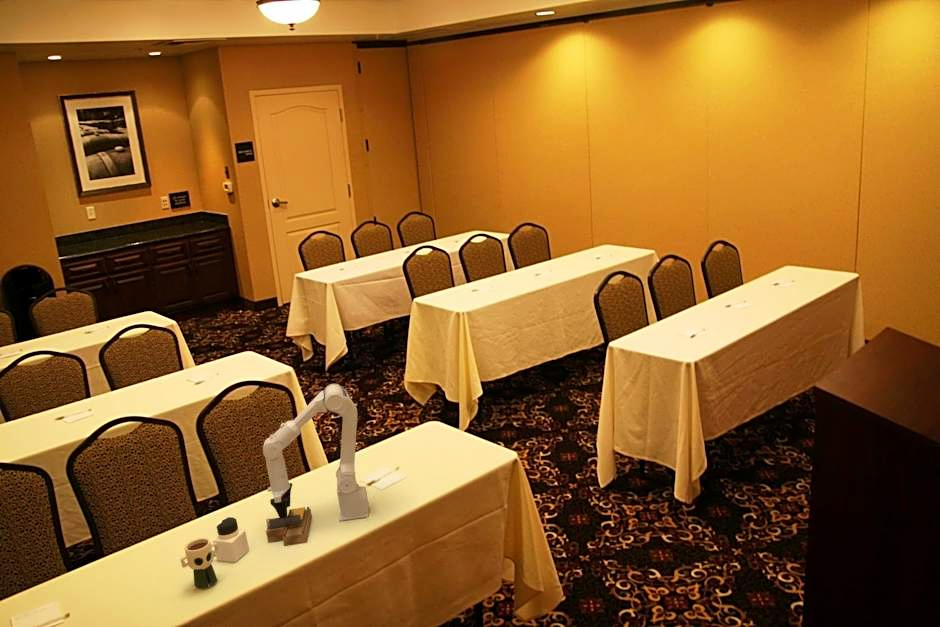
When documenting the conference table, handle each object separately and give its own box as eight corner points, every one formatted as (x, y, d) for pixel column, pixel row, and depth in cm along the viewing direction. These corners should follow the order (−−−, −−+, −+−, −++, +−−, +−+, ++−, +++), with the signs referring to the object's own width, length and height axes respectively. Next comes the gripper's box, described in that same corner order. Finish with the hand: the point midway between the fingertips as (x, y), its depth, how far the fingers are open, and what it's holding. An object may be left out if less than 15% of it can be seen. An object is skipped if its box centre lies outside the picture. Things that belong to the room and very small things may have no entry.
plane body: (312, 517, 257) (309, 506, 256) (306, 542, 242) (304, 530, 241) (274, 523, 257) (271, 512, 256) (266, 548, 241) (264, 537, 240)
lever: (301, 522, 246) (300, 513, 246) (301, 523, 245) (299, 515, 244) (268, 527, 246) (266, 518, 245) (267, 529, 244) (265, 520, 244)
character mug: (193, 597, 220) (183, 556, 217) (183, 588, 225) (174, 548, 222) (229, 579, 226) (220, 540, 223) (219, 571, 232) (210, 532, 229)
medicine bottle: (249, 550, 242) (242, 515, 239) (236, 562, 235) (228, 527, 232) (230, 548, 244) (223, 514, 241) (216, 561, 238) (208, 526, 235)
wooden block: (305, 512, 255) (304, 507, 254) (303, 524, 247) (302, 519, 246) (292, 514, 254) (291, 509, 254) (289, 526, 247) (288, 521, 246)
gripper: (268, 466, 255) (276, 503, 258) (261, 486, 241) (269, 525, 244) (290, 463, 255) (297, 500, 259) (284, 482, 241) (291, 521, 245)
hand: (285, 512), depth 251 cm, fingers open, 7 cm apart
